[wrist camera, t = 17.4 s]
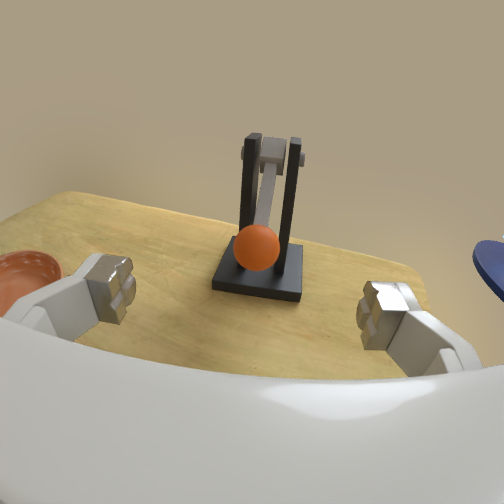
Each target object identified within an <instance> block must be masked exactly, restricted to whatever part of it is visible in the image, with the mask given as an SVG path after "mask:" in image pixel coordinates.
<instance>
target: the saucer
mask: <svg viewBox="0 0 504 504" xmlns="http://www.w3.org/2000/svg"><path fill="white" fill-rule="evenodd" d="M62 278H64V272H63V268H62V266H61V264H60V263H59V261H58V260H57V259H56V258H55V257H53V256H52V255H50V254H48V253H45V252H41V251H36V250H22V251H16V252H11V253H7V254H4V255H1V256H0V317H3V316H4V315H5V314H6V312H7V311H8V310H9V309H10V308H11V306H12V305H13V304H14V303H15V302H16V301H17V299H19V298H21V297H23V296H25V295H27V294H30V293H32V292H34V291H36V290H38V289H40V288H42V287H45V286H47V285H49V284H51V283H53V282H55V281H58V280H60V279H62Z"/></svg>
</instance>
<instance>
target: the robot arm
mask: <svg viewBox="0 0 504 504" xmlns="http://www.w3.org/2000/svg"><path fill="white" fill-rule="evenodd" d="M132 269H133V265H132V260H131V259H130V258H129V257H122V256H115V255H108V254H100V253H92V254H91V255H90V256H89V257H88V258H87V259H86V260H85V261H84V262H83V264H82V265H81V266H80V267H79V268H78V269H77V270H76V271H75V273H74V274H73V275H72V276H67V277H64V278H62V279H60V280H58V281H55V282H53V283H51V284H49V285H47V286H45V287H42V288H40V289H38V290H36V291H34V292H32V293H30V294H27V295H25V296H23V297H21V298H19V299H17V301H16V302H15V303H14V304H13V305H12V306H11V308H10V309H9V310H8V311H7V312H6V314H5V315H4V316H3V317H0V504H504V364H502V365H497V366H492V367H486V368H483V366H482V364H481V362H480V360H479V358H478V356H477V354H476V352H475V350H474V348H473V346H472V345H471V344H469V343H468V342H467V341H465V340H464V339H463V338H462V337H460V336H459V335H457V334H456V333H455V332H454V331H452V330H451V329H450V328H448V327H447V326H446V325H444V324H443V323H442V322H440V321H439V320H437V319H436V318H435V317H433V316H432V315H431V314H429V313H428V312H426V311H422V309H421V307H420V305H419V303H418V301H417V300H416V298H415V296H414V294H413V292H412V290H411V289H410V287H409V285H408V284H407V283H405V282H379V281H367V282H366V284H365V286H364V289H363V292H364V295H365V297H363V298H362V299H361V300H360V301H359V304H358V307H357V313H356V320H357V325H358V327H359V328H360V329H361V330H362V333H361V340H362V343H363V347H364V350H383V351H386V352H387V353H388V354H389V356H390V357H391V358H392V359H393V360H394V361H395V362H396V363H397V364H398V366H399V367H400V368H401V369H402V370H403V371H404V372H405V374H406V375H407V376H408V377H405V378H390V379H367V380H317V379H292V378H276V377H262V376H251V375H241V374H231V373H223V372H215V371H207V370H200V369H193V368H187V367H181V366H175V365H169V364H163V363H158V362H153V361H148V360H143V359H138V358H134V357H129V356H125V355H120V354H116V353H112V352H108V351H104V350H100V349H96V348H92V347H89V346H85V345H81V344H78V343H74V342H73V341H74V340H75V339H77V338H78V337H80V336H81V335H82V334H84V333H85V332H86V331H88V330H89V329H91V328H92V327H93V326H95V325H96V324H97V323H99V321H102V322H107V323H112V324H118V325H120V323H121V322H122V320H123V318H124V316H125V314H126V313H127V311H126V307H127V306H129V305H130V304H132V302H133V300H134V298H135V294H136V281H135V278H134V277H133V276H132V274H131V271H132Z"/></svg>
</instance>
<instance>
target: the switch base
mask: <svg viewBox="0 0 504 504" xmlns="http://www.w3.org/2000/svg"><path fill="white" fill-rule="evenodd" d="M261 138H262V134H261V133H251V134H250V135H249V136H247V137H246V138H245V141H244V146H243V147H242V150H241V159H242V160H243V172H242V187H241V204H240V221H239V232H240V231H241V230H242V229H244V228H245V227H247V226H250V225H253V223H254V218H255V211H256V199H257V187H258V175H259V163H260V150H261ZM304 161H305V153H304V152H301V138H296V137H291V141H290V148H289V157H288V166H287V176H286V184H285V192H284V200H283V209H282V217H281V225H280V233H279V244H280V252H279V256H278V258H277V260H276V261H275V263H274V264H273V265H272V266H270V267H269V268H267V269H265V270H262V271H251V270H248V269H246V268H244V267H243V266H241V265H240V264H239V263H238V261H237V260H236V258H235V255H234V251H233V244H234V240H235V238H236V236H232V238H231V240H230V243H229V245H228V247H227V249H226V251H225V253H224V255H223V258H222V260H221V262H220V264H219V266H218V268H217V271H216V273H215V275H214V277H213V279H212V289H214V290H220V291H226V292H233V293H239V294H245V295H252V296H258V297H265V298H272V299H279V300H286V301H293V302H300V299H301V294H302V261H303V245H298V244H290V243H288V242H289V235H290V228H291V221H292V214H293V207H294V199H295V192H296V184H297V176H298V167H299V166H300V167H303V166H304Z"/></svg>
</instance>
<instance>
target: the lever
mask: <svg viewBox="0 0 504 504" xmlns="http://www.w3.org/2000/svg"><path fill="white" fill-rule="evenodd" d="M286 141H287V140H286V139H283V138H273V137H264V139H263V143H262V148H261V152H260V173H263V178H262V182H261V187H260V193H259V198H258V203H257V208H256V213H255V218H254V223H253V225H250V226H247V227H245V228H244V229H242V230H241V231H240V232H239V233H238V234H237V236H236V238H235V240H234V244H233V251H234V255H235V258H236V260H237V261H238V263H239V264H240V265H241V266H243V267H244V268H246V269H248V270H251V271H262V270H265V269H267V268H269V267H270V266H272V265H273V264H274V263H275V261H276V260H277V258H278V256H279V252H280V244H279V240H278V237H277V236H276V234H275V233H274V232H273V231H272V230H271V229H270V228H268V222H269V216H270V210H271V204H272V197H273V191H274V185H275V179H276V175H283V168H284V160H285V153H286Z"/></svg>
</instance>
